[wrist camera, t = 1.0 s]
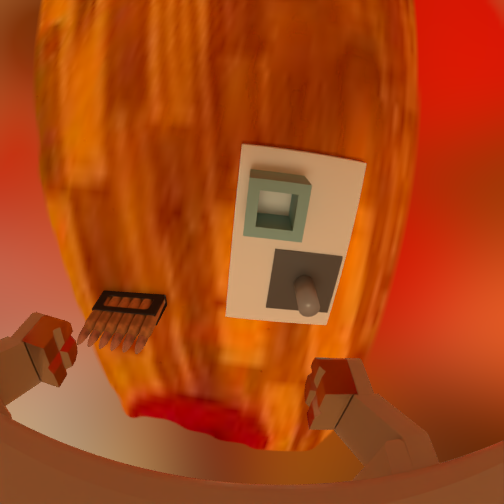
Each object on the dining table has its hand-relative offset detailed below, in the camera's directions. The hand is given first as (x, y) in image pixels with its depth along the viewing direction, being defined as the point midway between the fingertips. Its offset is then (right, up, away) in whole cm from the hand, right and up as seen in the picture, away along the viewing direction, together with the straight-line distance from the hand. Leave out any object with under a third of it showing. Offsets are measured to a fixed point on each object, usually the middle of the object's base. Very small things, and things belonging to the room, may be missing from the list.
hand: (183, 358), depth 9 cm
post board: (+7, +5, +31) cm, 32 cm away
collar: (+5, +10, +27) cm, 29 cm away
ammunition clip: (-16, -4, +36) cm, 39 cm away
